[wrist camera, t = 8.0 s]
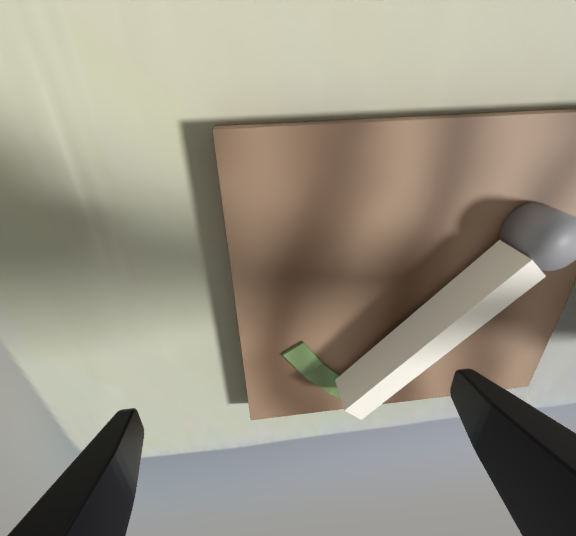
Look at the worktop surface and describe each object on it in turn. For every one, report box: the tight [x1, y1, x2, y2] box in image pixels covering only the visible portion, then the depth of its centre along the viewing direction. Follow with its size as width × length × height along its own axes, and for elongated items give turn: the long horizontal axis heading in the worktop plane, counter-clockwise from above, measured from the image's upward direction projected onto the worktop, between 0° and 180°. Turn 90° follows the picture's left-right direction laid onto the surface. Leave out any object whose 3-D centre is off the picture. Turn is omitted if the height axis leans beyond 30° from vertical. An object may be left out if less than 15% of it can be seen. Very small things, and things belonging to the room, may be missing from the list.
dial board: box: [213, 109, 576, 420], centre depth 22 cm, size 22×20×2 cm
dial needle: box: [335, 202, 576, 420], centre depth 20 cm, size 16×3×3 cm, turn 139°
